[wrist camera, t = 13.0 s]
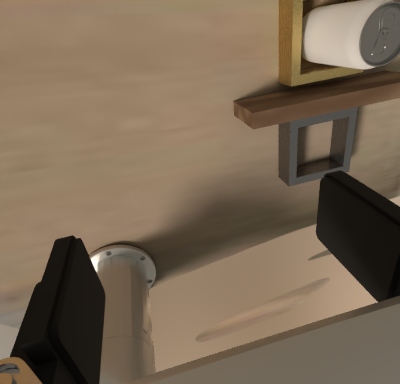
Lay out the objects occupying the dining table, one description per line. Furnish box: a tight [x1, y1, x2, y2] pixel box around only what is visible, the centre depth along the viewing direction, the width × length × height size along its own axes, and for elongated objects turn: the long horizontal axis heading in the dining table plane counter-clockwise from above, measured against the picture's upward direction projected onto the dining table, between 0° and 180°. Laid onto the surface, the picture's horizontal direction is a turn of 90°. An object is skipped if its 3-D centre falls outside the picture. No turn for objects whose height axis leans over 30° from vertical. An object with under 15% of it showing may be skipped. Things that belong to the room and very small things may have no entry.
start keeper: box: [279, 107, 358, 186], centre depth 44 cm, size 10×10×4 cm
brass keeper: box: [279, 0, 363, 86], centre depth 36 cm, size 10×10×4 cm
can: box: [301, 0, 400, 69], centre depth 33 cm, size 6×6×12 cm
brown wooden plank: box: [233, 71, 400, 129], centre depth 39 cm, size 2×24×7 cm, turn 98°
